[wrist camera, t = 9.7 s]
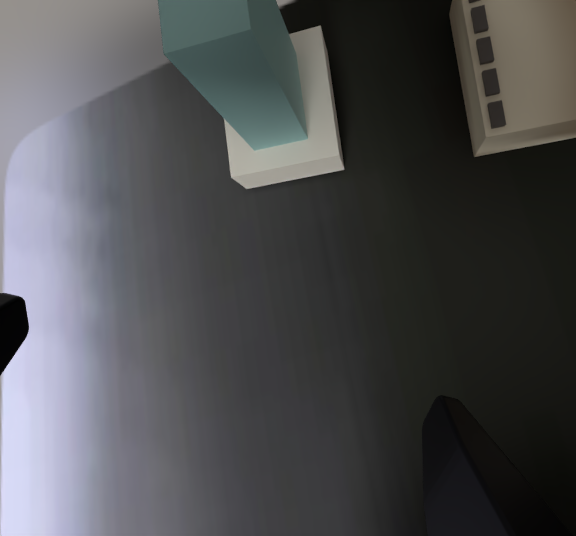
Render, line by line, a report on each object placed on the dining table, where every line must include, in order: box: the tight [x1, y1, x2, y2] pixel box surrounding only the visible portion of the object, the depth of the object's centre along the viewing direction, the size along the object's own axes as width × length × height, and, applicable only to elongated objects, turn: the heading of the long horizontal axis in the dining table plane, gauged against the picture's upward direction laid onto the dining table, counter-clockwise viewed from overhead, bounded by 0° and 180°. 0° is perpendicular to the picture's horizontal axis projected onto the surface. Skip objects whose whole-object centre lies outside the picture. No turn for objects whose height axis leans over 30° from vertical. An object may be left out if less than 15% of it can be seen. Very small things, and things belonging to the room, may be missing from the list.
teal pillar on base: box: [158, 0, 344, 189], centre depth 16 cm, size 5×6×10 cm
